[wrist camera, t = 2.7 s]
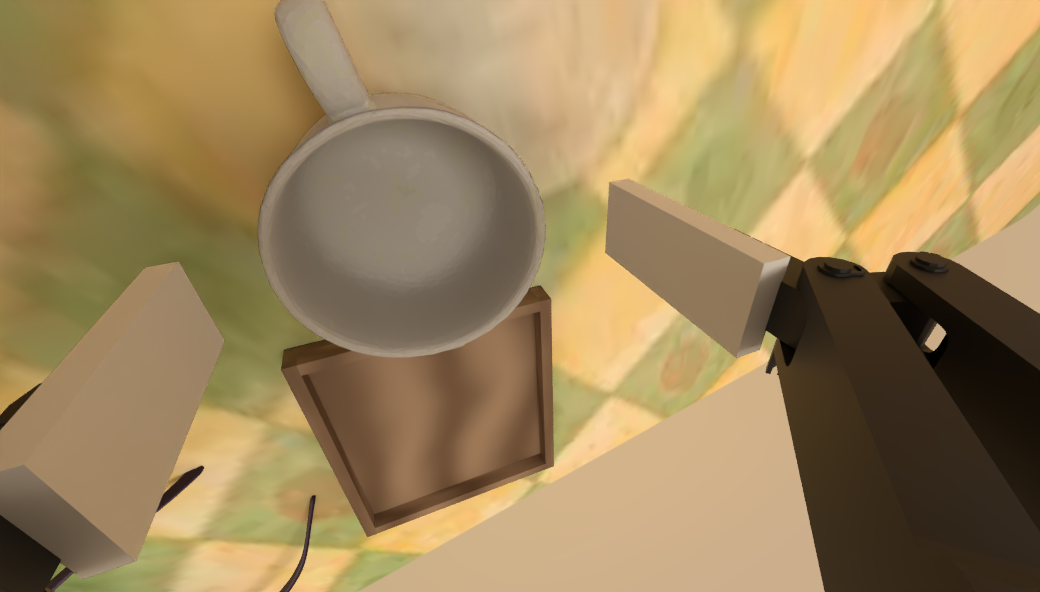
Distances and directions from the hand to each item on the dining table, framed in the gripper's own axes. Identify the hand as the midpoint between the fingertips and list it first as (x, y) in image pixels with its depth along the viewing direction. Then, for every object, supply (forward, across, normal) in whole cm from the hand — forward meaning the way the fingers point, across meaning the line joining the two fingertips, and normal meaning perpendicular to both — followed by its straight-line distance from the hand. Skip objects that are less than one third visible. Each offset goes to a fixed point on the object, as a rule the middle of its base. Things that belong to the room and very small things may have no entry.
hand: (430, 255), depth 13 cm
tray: (+11, 0, -18) cm, 21 cm away
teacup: (+11, 0, 0) cm, 11 cm away
